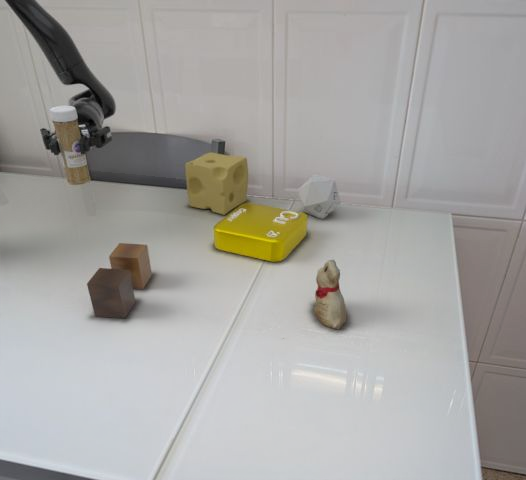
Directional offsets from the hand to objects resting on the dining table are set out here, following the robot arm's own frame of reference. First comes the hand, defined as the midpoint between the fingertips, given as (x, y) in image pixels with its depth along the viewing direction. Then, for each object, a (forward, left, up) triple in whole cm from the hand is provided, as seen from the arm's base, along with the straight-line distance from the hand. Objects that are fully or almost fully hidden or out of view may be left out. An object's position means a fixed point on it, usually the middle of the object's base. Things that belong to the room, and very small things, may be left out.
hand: (68, 149), depth 91 cm
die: (+48, +13, -17) cm, 52 cm away
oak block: (+14, -18, -17) cm, 28 cm away
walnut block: (+13, -27, -17) cm, 34 cm away
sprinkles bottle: (-1, +3, -7) cm, 8 cm away
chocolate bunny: (+48, -27, -17) cm, 57 cm away
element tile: (+36, -1, -17) cm, 40 cm away
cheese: (+25, +18, -17) cm, 35 cm away
